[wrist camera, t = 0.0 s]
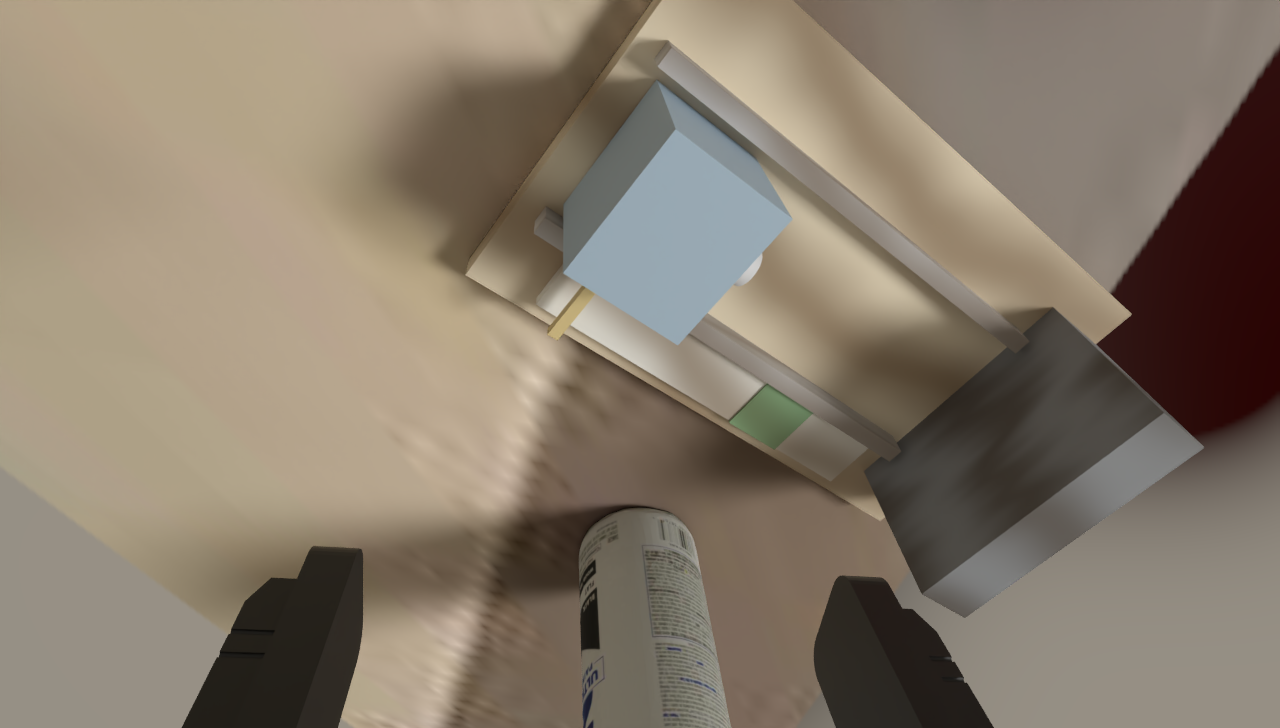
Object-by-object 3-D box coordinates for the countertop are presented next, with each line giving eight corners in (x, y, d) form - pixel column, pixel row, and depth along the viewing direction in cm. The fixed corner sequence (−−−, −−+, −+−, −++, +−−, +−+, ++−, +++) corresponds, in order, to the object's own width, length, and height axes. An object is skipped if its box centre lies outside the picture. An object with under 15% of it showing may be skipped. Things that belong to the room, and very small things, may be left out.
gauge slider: (656, 79, 29) (675, 129, 24) (783, 179, 31) (824, 243, 26) (503, 284, 33) (492, 363, 28) (626, 358, 35) (636, 442, 30)
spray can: (568, 512, 43) (570, 938, 26) (691, 493, 43) (770, 908, 26) (588, 592, 46) (601, 1009, 30) (701, 574, 46) (776, 983, 30)
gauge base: (707, -77, 27) (764, -44, 19) (1113, 298, 38) (1257, 419, 30) (469, 259, 34) (439, 385, 26) (871, 501, 44) (937, 645, 36)
